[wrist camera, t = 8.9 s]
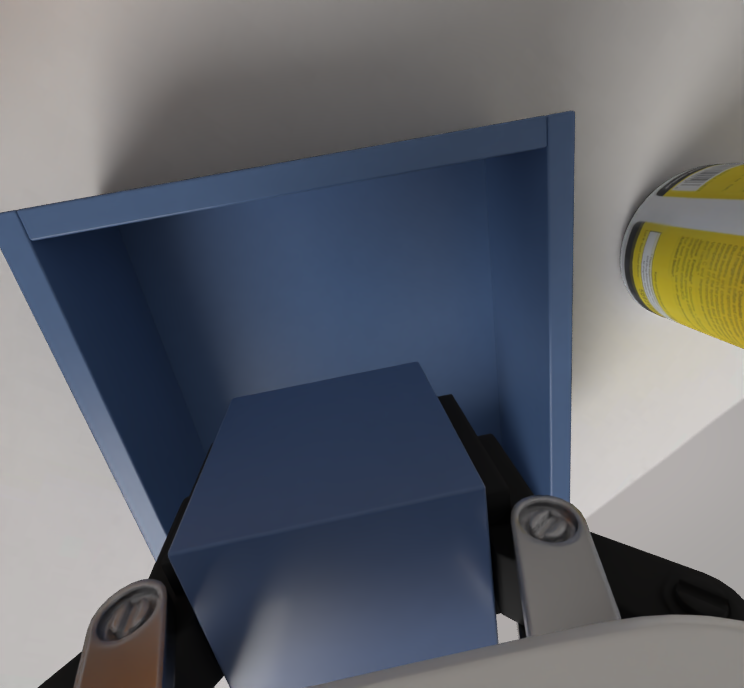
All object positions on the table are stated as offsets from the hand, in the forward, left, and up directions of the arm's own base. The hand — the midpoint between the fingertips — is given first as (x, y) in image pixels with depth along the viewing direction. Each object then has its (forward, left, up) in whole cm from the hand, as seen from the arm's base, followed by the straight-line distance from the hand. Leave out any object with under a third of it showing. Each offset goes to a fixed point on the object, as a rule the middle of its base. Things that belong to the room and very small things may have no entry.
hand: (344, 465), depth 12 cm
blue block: (0, 0, 0) cm, 0 cm away
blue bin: (0, 0, -8) cm, 8 cm away
